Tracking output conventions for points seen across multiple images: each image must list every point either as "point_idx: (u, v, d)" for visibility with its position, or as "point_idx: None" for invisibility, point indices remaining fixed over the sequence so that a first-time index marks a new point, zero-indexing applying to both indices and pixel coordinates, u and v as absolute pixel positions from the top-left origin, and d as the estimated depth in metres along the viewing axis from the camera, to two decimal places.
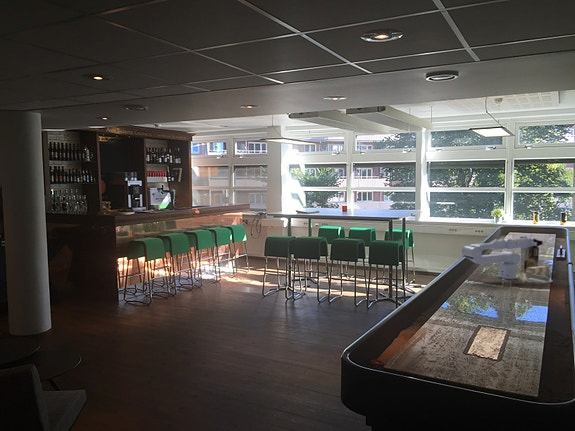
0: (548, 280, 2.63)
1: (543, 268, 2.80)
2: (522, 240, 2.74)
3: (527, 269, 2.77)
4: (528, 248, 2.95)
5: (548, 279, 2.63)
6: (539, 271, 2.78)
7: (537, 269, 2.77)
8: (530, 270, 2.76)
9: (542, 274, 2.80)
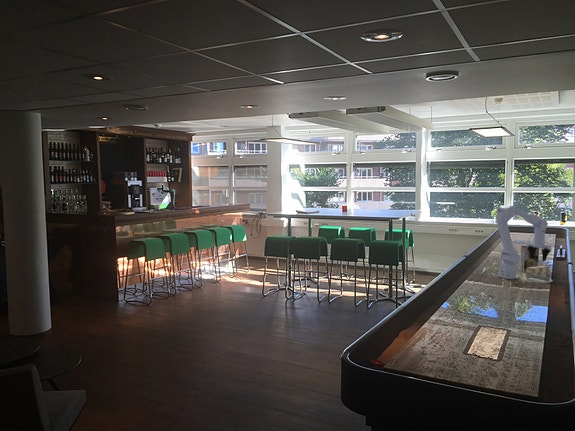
0: (548, 280, 2.63)
1: (543, 268, 2.80)
2: None
3: (527, 269, 2.77)
4: None
5: (548, 279, 2.63)
6: (539, 271, 2.78)
7: (537, 269, 2.77)
8: (530, 270, 2.76)
9: (542, 274, 2.80)
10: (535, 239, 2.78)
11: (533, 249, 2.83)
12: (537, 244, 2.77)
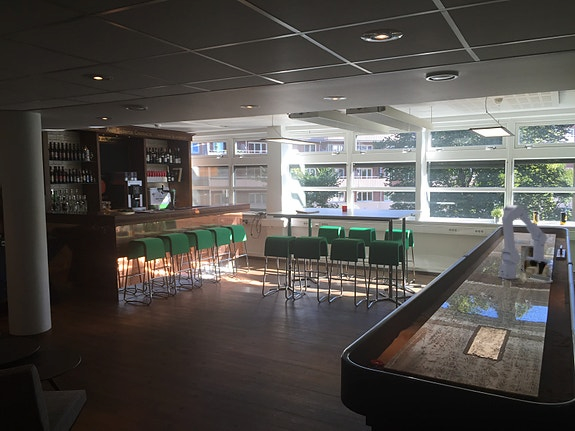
0: (548, 280, 2.63)
1: None
2: (543, 252, 2.78)
3: (527, 268, 2.77)
4: (528, 248, 2.95)
5: (548, 279, 2.63)
6: None
7: (537, 269, 2.77)
8: (530, 270, 2.76)
9: (542, 274, 2.80)
10: (534, 253, 2.79)
11: (535, 263, 2.82)
12: (536, 258, 2.78)
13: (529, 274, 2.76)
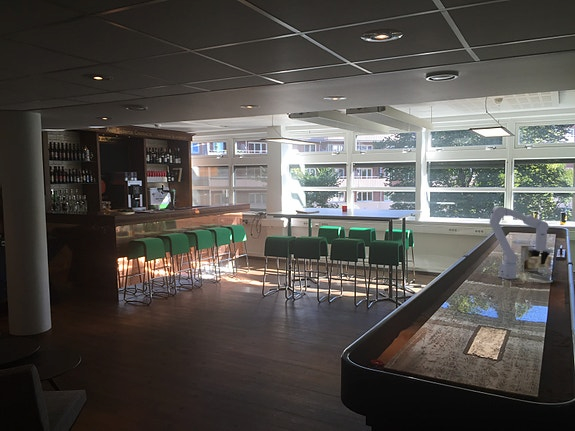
0: (548, 280, 2.63)
1: None
2: None
3: (530, 258, 2.68)
4: None
5: (548, 279, 2.63)
6: None
7: (540, 259, 2.68)
8: (532, 260, 2.67)
9: (544, 264, 2.71)
10: (537, 242, 2.70)
11: (537, 253, 2.73)
12: (539, 248, 2.69)
13: (531, 264, 2.67)
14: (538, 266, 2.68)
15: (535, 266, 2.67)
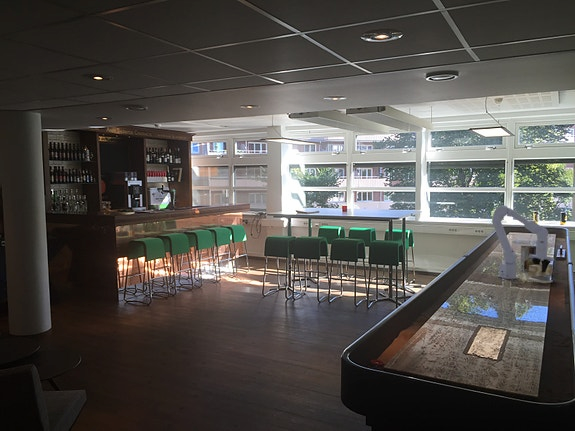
0: (548, 280, 2.63)
1: None
2: None
3: (530, 266, 2.64)
4: (528, 248, 2.95)
5: (548, 279, 2.63)
6: None
7: (540, 267, 2.64)
8: (533, 268, 2.62)
9: (545, 272, 2.66)
10: (537, 250, 2.65)
11: (538, 261, 2.68)
12: (539, 255, 2.64)
13: (532, 272, 2.63)
14: (539, 274, 2.64)
15: (536, 274, 2.63)
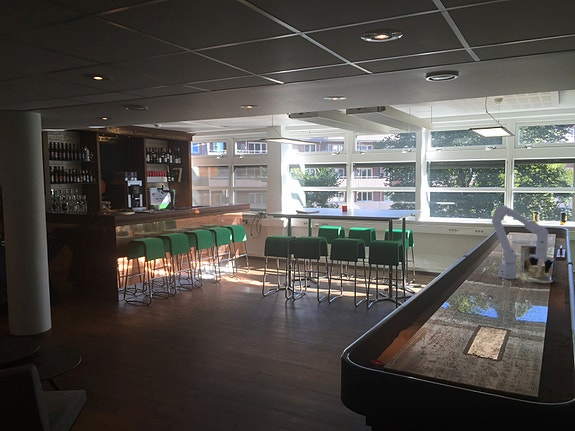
0: (548, 280, 2.63)
1: None
2: None
3: (530, 267, 2.64)
4: (528, 248, 2.95)
5: (548, 279, 2.63)
6: (542, 270, 2.65)
7: (540, 268, 2.64)
8: (533, 269, 2.62)
9: (545, 273, 2.66)
10: (537, 250, 2.65)
11: (535, 260, 2.70)
12: (539, 255, 2.64)
13: (532, 273, 2.63)
14: (539, 275, 2.64)
15: (535, 275, 2.63)
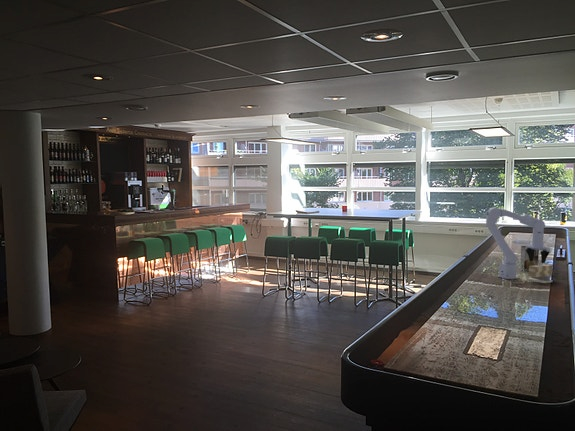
0: (548, 280, 2.63)
1: (546, 267, 2.66)
2: None
3: (530, 267, 2.64)
4: None
5: (548, 279, 2.63)
6: (542, 270, 2.65)
7: (540, 268, 2.64)
8: (533, 269, 2.62)
9: (545, 273, 2.66)
10: (533, 241, 2.70)
11: (532, 251, 2.74)
12: (536, 246, 2.68)
13: (532, 273, 2.63)
14: (539, 275, 2.64)
15: (535, 275, 2.63)
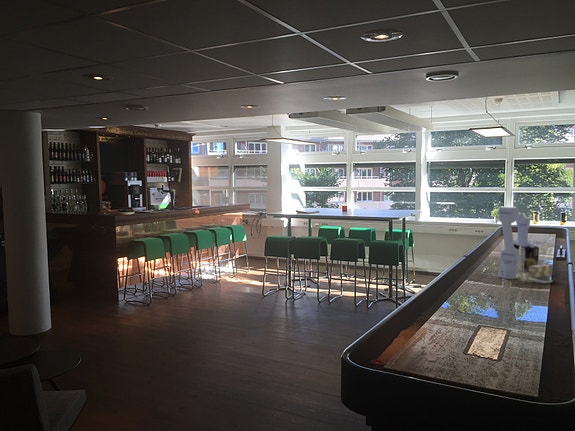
0: (548, 280, 2.63)
1: (546, 267, 2.66)
2: (527, 237, 2.85)
3: (530, 267, 2.64)
4: None
5: (548, 279, 2.63)
6: (542, 270, 2.65)
7: (540, 268, 2.64)
8: (533, 269, 2.62)
9: (545, 273, 2.66)
10: (518, 237, 2.86)
11: (517, 247, 2.90)
12: (520, 242, 2.84)
13: (532, 273, 2.63)
14: (539, 275, 2.64)
15: (535, 275, 2.63)
